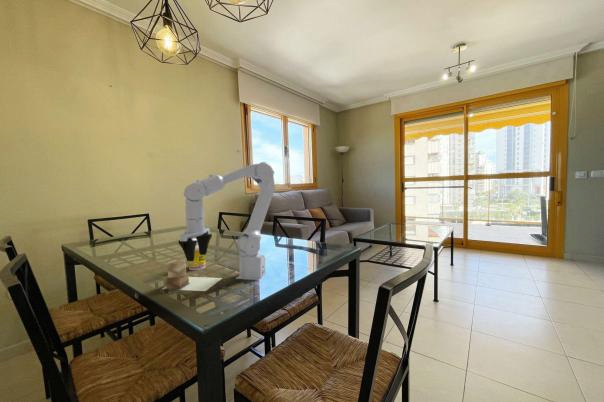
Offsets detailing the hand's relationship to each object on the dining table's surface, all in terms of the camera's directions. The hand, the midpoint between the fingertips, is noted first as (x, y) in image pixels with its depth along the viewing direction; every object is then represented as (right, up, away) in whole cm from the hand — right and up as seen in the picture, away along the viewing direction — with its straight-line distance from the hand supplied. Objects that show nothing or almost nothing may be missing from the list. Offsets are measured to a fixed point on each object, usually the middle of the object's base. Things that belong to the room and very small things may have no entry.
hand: (197, 257), depth 87 cm
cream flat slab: (-2, -10, +2) cm, 11 cm away
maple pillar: (-7, -6, 0) cm, 9 cm away
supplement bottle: (-8, -10, +20) cm, 24 cm away
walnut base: (-7, -10, 0) cm, 12 cm away
